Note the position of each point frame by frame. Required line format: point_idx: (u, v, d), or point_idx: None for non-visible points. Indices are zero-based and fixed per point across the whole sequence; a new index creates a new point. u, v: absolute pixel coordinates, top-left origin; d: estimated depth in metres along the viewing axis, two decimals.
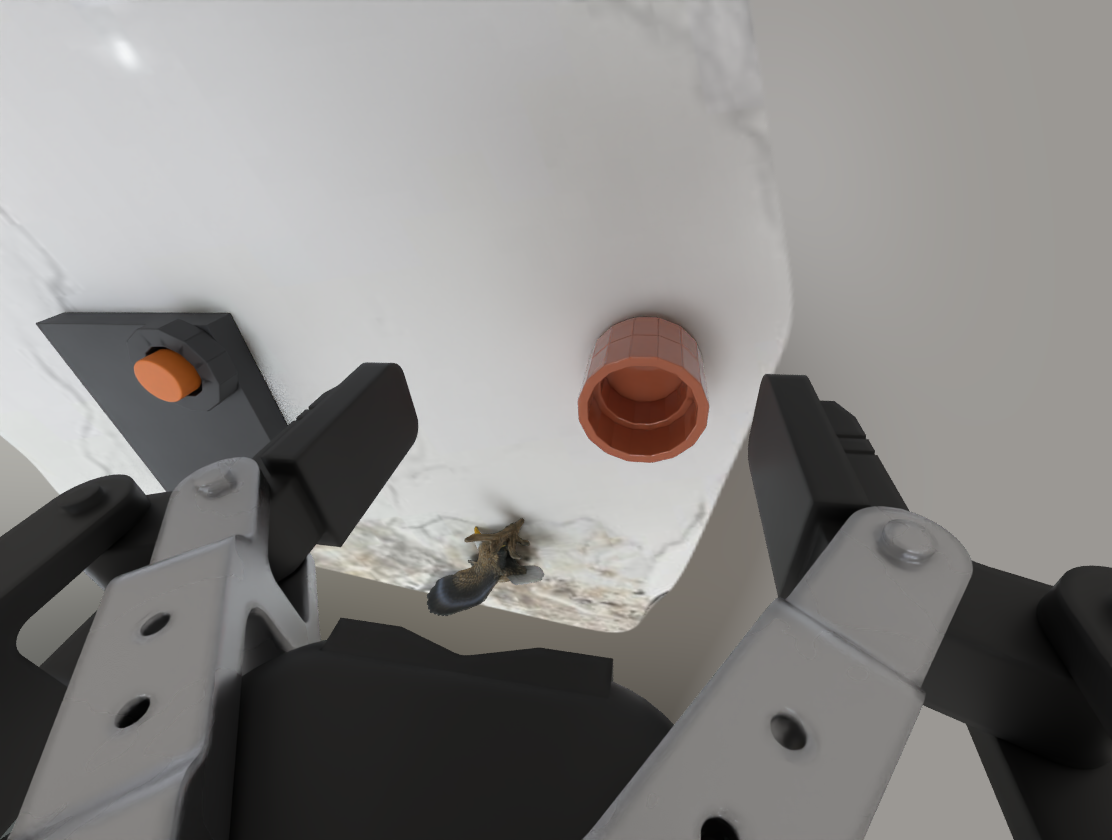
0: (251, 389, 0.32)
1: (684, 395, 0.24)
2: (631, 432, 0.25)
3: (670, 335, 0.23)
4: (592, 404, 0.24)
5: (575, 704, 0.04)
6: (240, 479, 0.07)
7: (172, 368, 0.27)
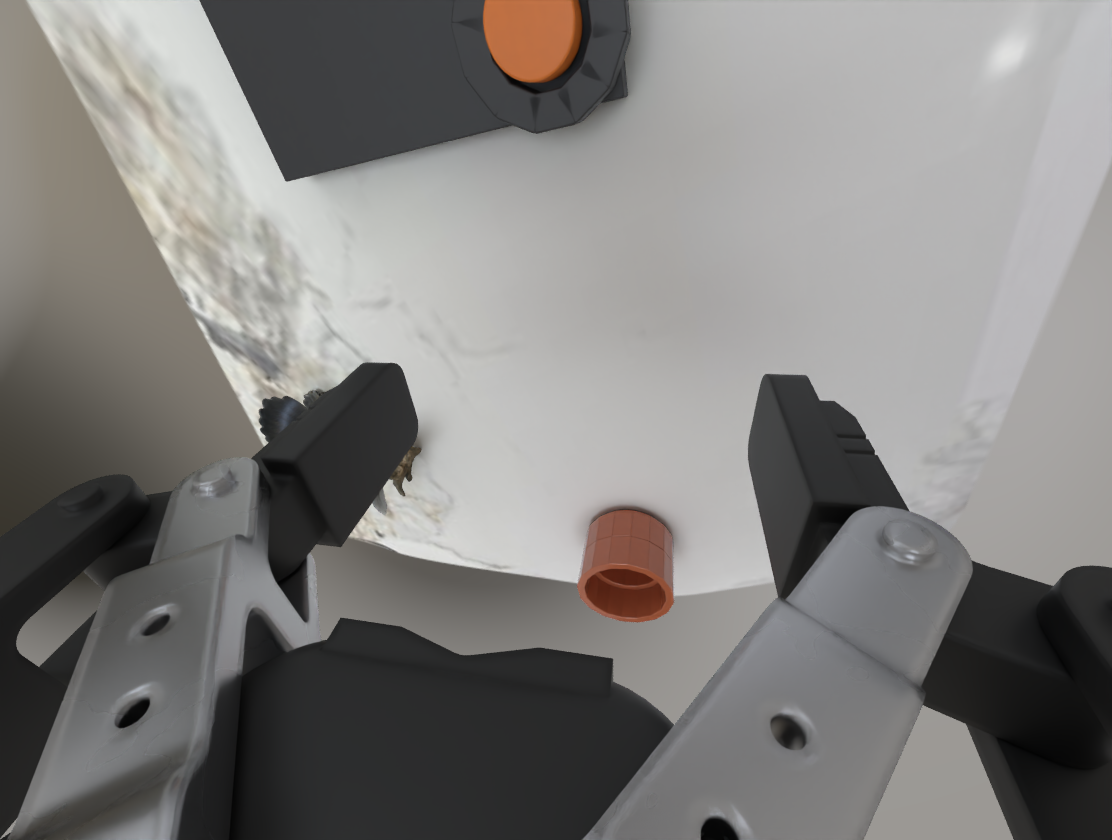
0: None
1: (623, 580, 0.33)
2: None
3: None
4: None
5: (575, 704, 0.04)
6: (239, 479, 0.07)
7: (562, 66, 0.15)
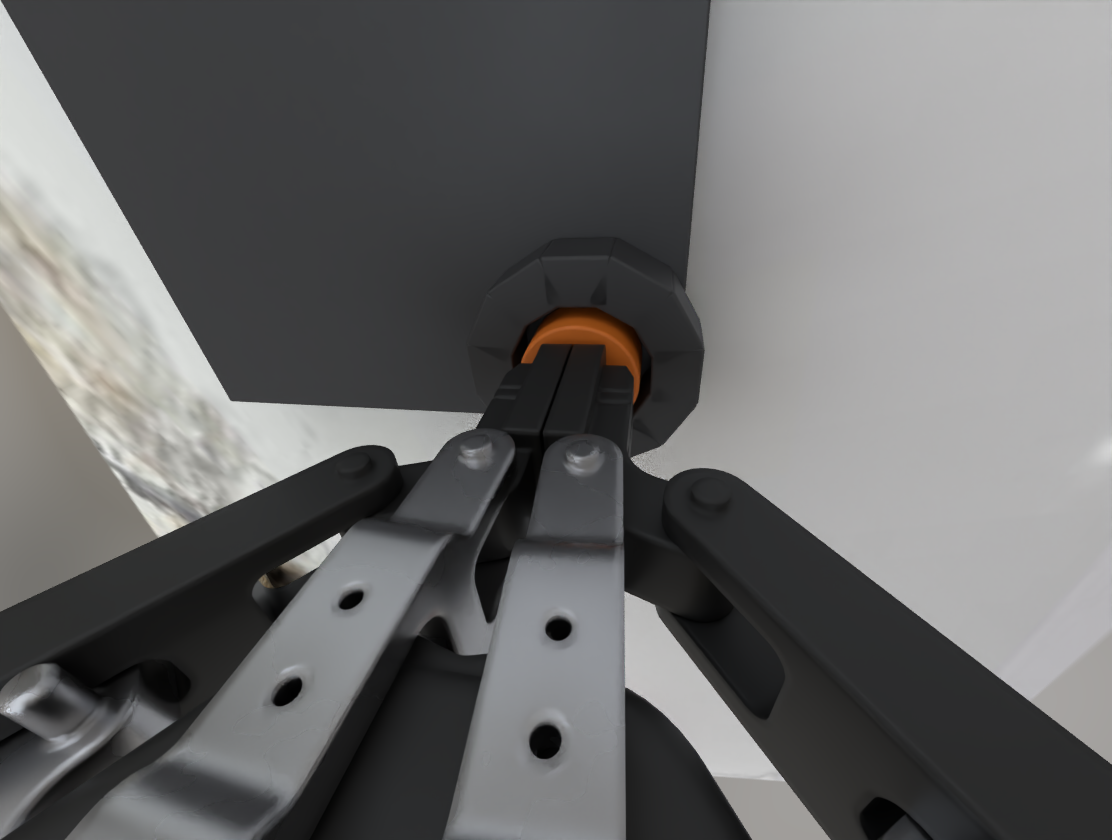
0: None
1: None
2: None
3: None
4: None
5: None
6: (494, 459, 0.07)
7: None
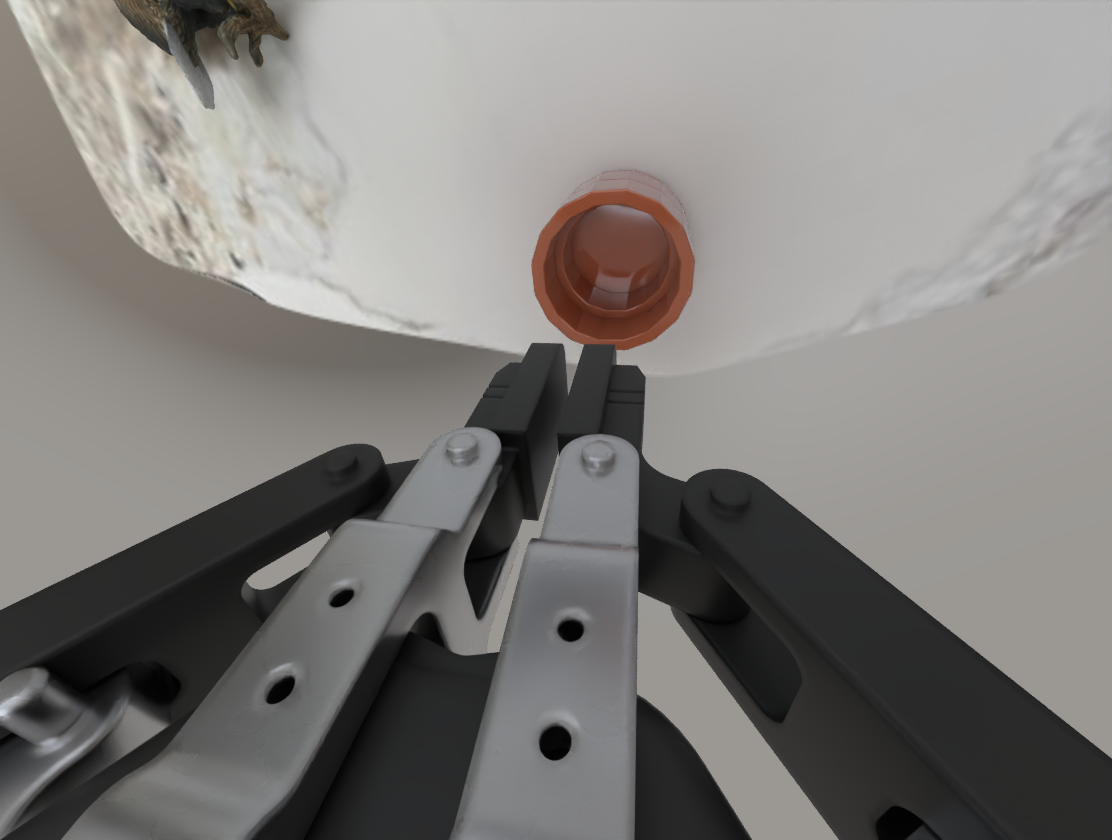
0: None
1: (604, 305, 0.21)
2: (552, 251, 0.19)
3: None
4: None
5: None
6: (480, 456, 0.07)
7: None
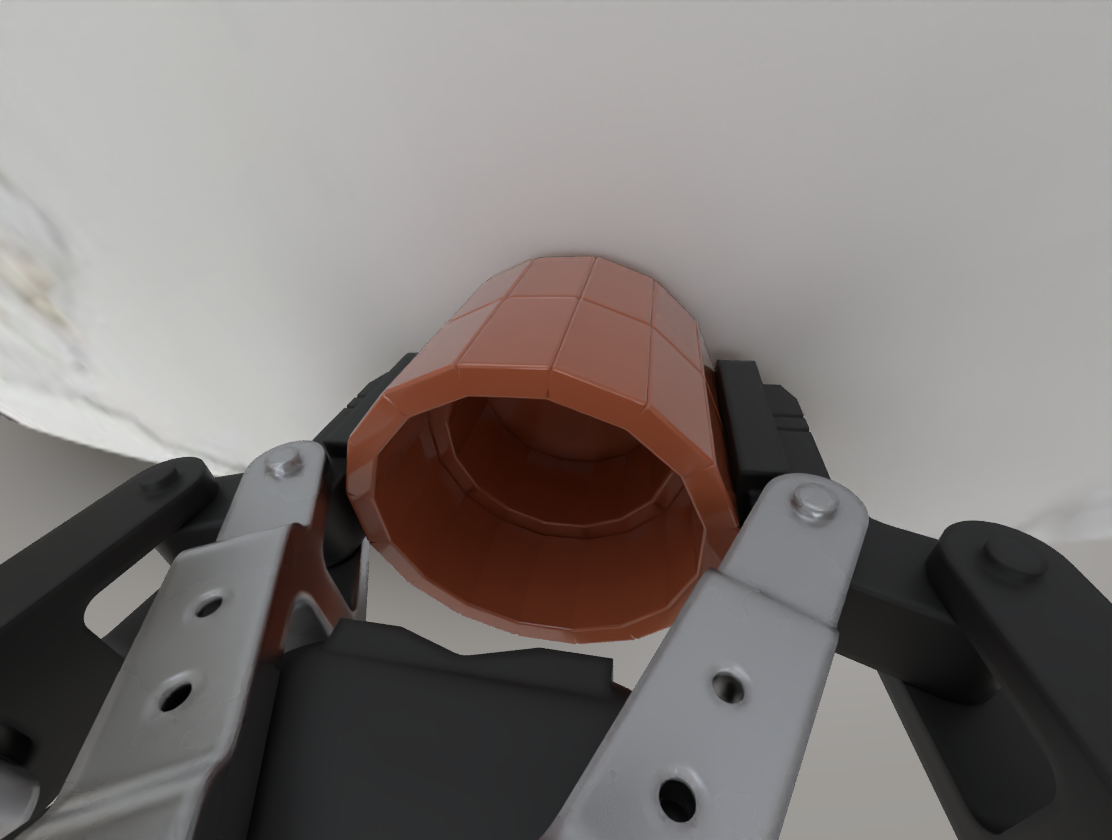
0: None
1: (544, 507, 0.11)
2: (422, 428, 0.09)
3: None
4: None
5: (575, 704, 0.04)
6: (306, 463, 0.07)
7: None
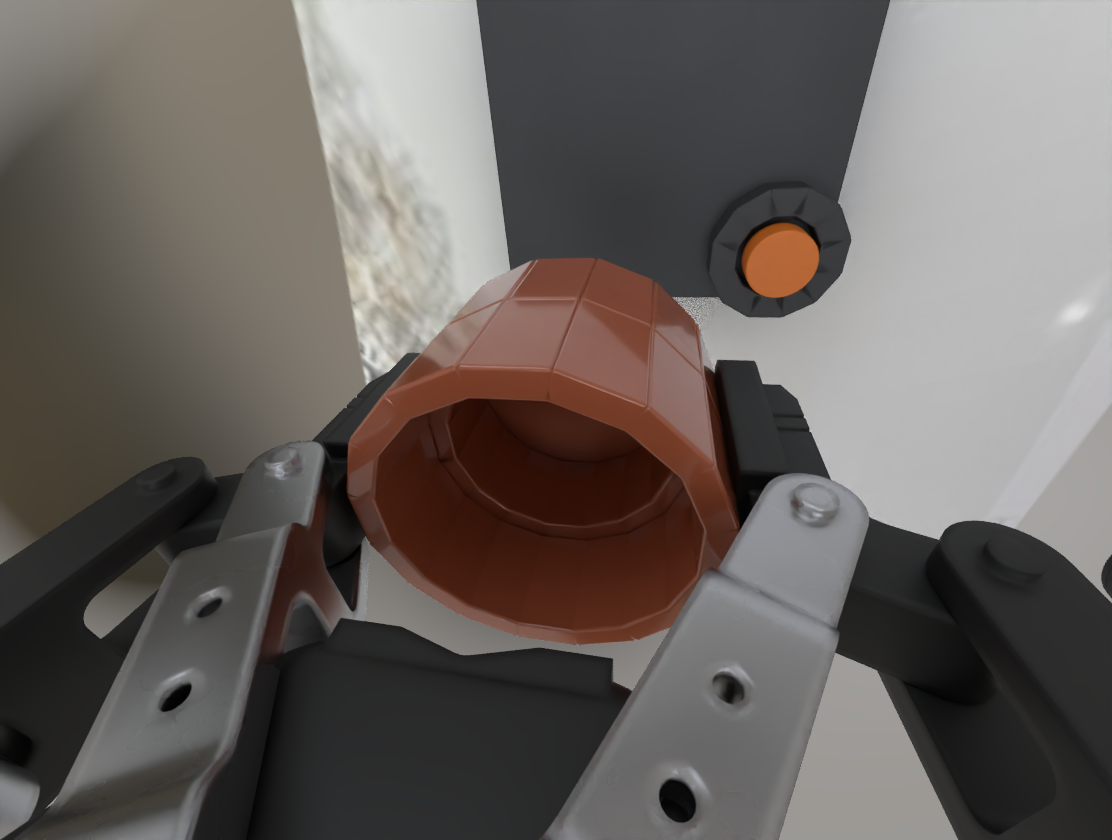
0: None
1: (544, 508, 0.11)
2: (422, 429, 0.09)
3: None
4: None
5: (575, 704, 0.04)
6: (305, 463, 0.07)
7: None
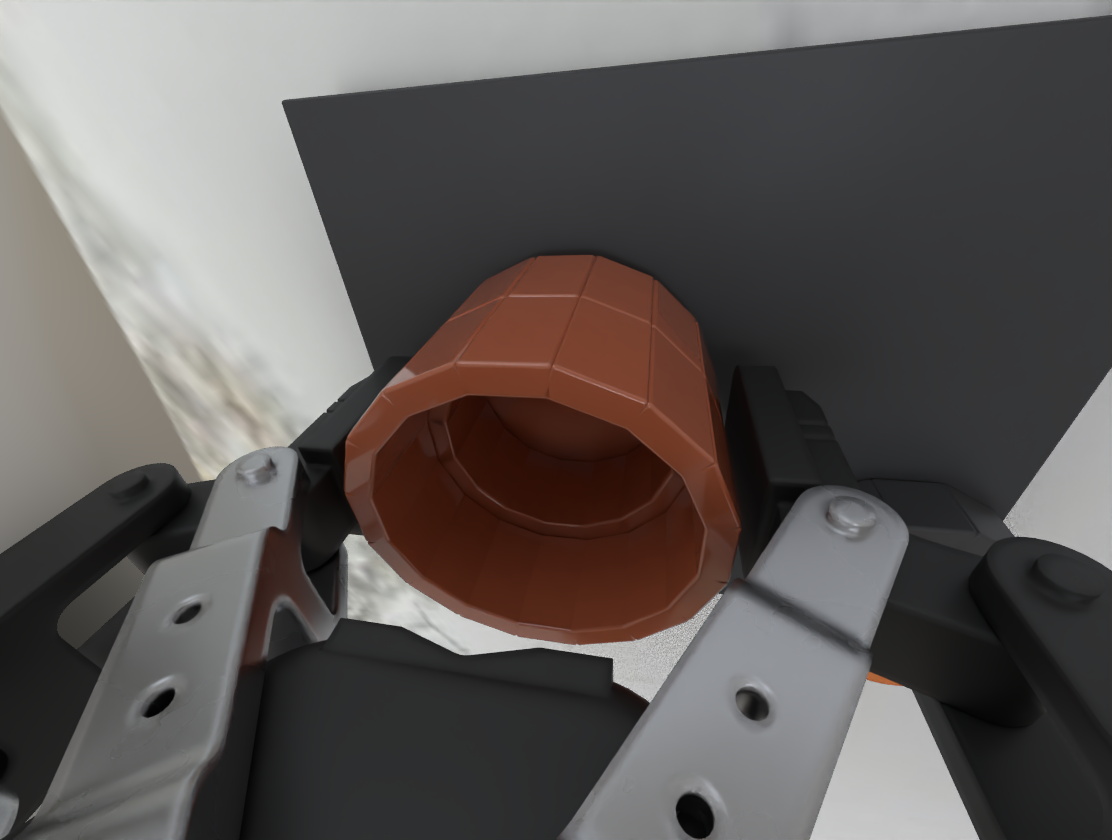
0: None
1: (543, 507, 0.11)
2: (420, 428, 0.09)
3: None
4: None
5: (575, 704, 0.04)
6: (279, 469, 0.07)
7: None
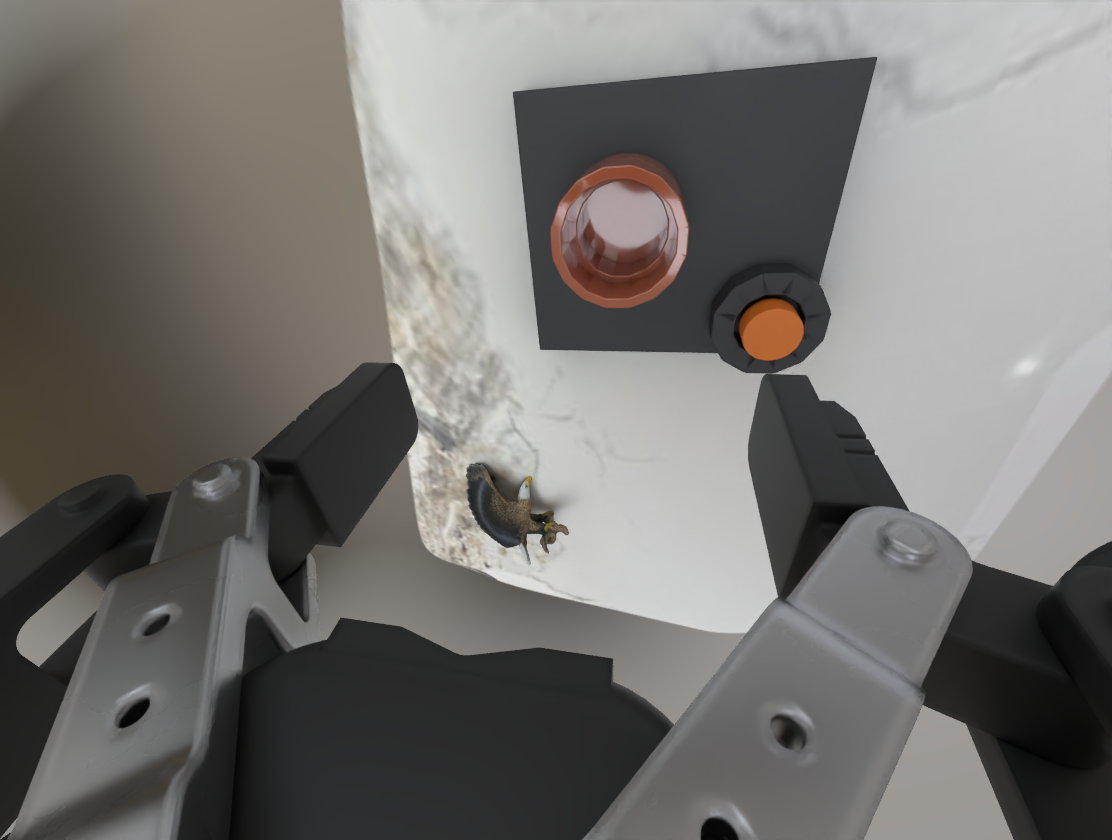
0: None
1: (611, 272, 0.24)
2: (567, 222, 0.23)
3: None
4: None
5: (575, 704, 0.04)
6: (239, 480, 0.07)
7: None
